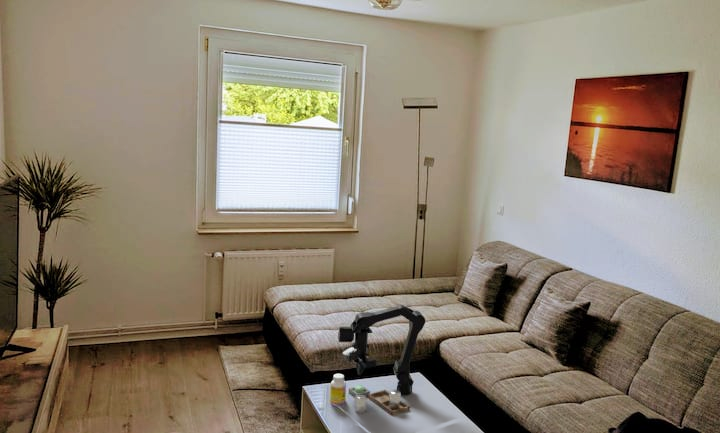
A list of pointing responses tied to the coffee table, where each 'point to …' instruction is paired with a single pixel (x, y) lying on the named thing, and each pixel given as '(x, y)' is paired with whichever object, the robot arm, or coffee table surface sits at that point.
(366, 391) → the grey square tray
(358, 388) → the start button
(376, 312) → the robot arm
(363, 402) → the cylinder
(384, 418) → the coffee table surface
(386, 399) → the wooden tray
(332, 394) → the supplement bottle
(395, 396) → the cylinder
